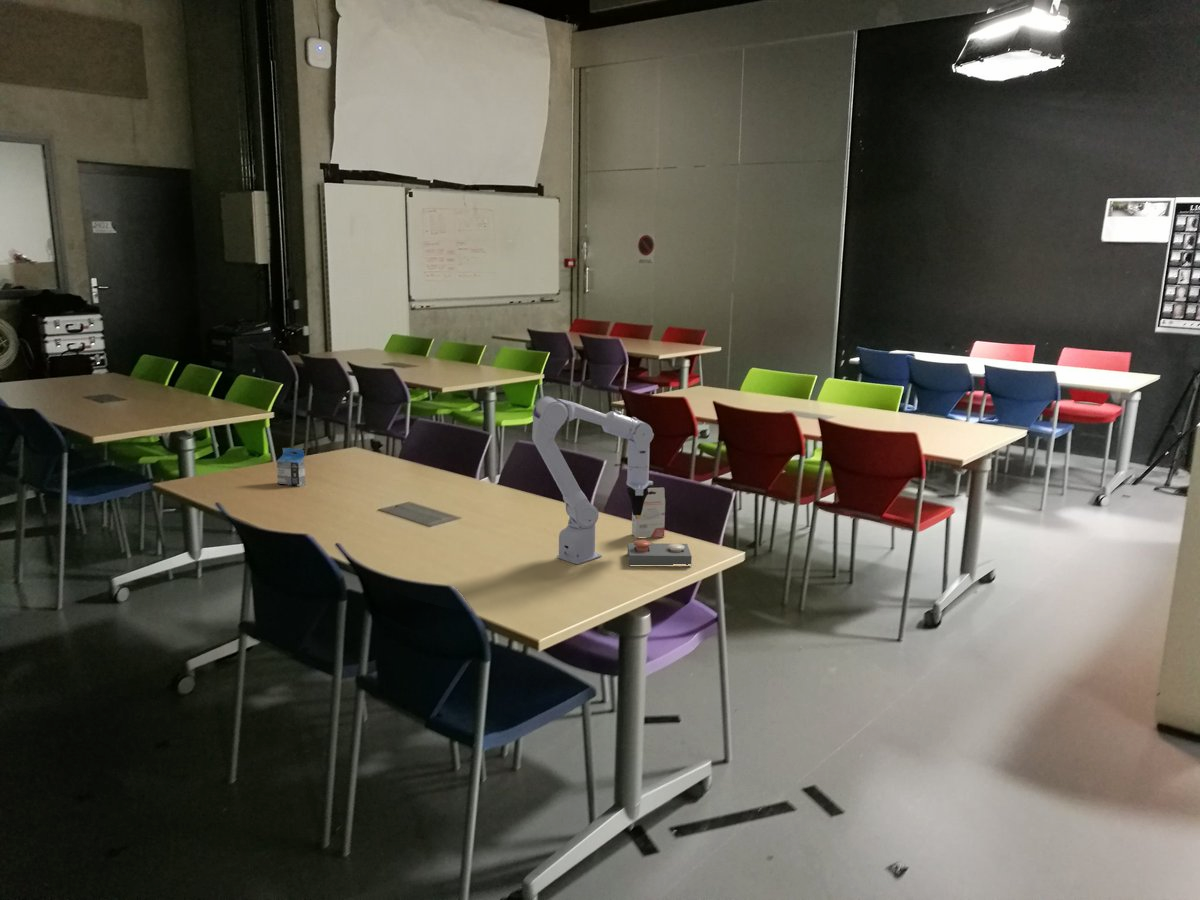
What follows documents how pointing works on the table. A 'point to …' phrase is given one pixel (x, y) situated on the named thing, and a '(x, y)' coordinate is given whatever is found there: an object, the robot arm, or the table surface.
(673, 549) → the plunger ivory
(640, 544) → the plunger red
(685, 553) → the console
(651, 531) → the ink cartridge box
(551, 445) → the robot arm
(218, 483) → the table surface
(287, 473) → the label tape box
